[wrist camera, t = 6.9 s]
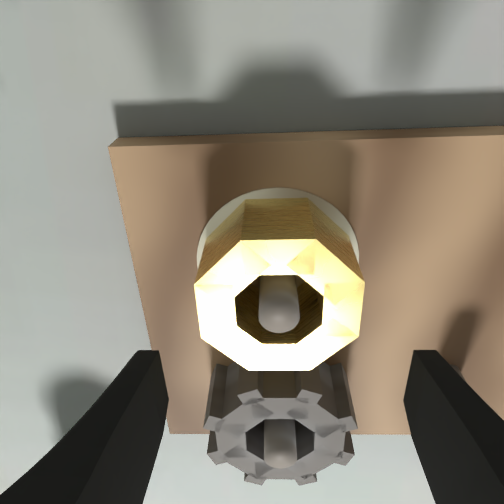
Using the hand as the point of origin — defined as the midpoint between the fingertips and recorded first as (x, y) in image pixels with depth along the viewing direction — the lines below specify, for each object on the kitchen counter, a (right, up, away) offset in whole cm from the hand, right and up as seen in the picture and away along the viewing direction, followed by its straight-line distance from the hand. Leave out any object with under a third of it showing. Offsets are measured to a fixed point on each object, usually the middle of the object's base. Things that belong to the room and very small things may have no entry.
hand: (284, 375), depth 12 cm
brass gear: (0, +3, +5) cm, 6 cm away
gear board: (+3, +1, +8) cm, 8 cm away
